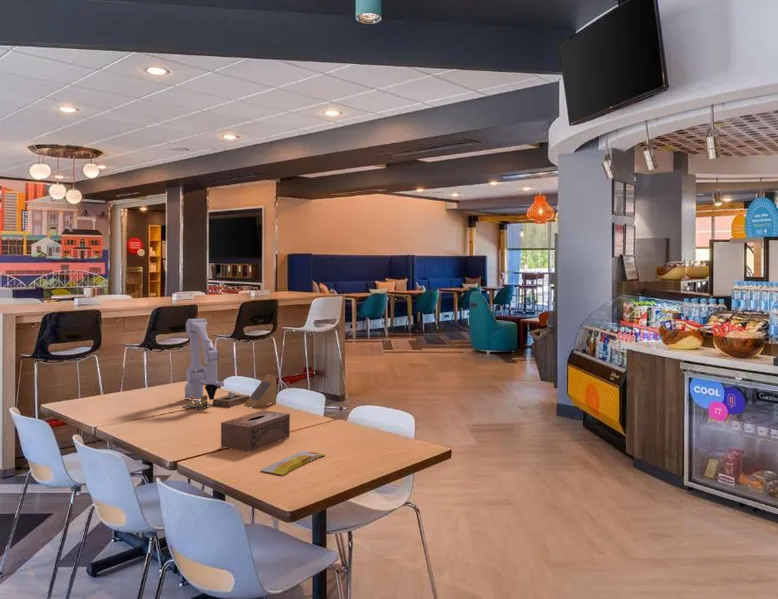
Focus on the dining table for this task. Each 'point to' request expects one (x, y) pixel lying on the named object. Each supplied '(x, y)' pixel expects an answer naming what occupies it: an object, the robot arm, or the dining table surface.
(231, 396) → the pin
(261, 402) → the sandwich container
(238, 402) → the slot block
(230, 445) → the tissue box cover
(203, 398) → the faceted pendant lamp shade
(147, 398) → the dining table surface
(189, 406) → the nut base
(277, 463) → the food package
